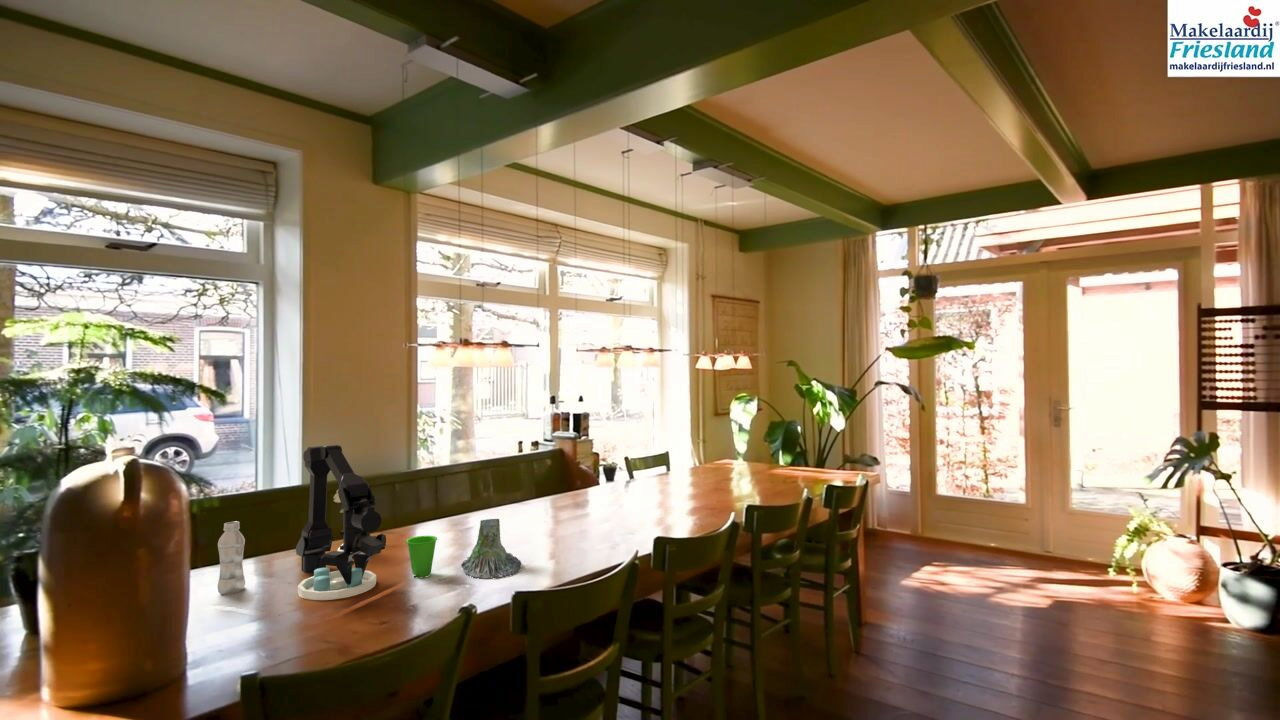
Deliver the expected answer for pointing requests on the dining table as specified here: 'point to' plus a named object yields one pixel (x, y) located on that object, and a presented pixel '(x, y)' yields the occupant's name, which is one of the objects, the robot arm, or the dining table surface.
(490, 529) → the tree stump
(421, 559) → the cup
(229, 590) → the plastic bottle
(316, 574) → the bead seated
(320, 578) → the bead
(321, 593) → the groove tray
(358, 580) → the bead
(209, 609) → the dining table surface
